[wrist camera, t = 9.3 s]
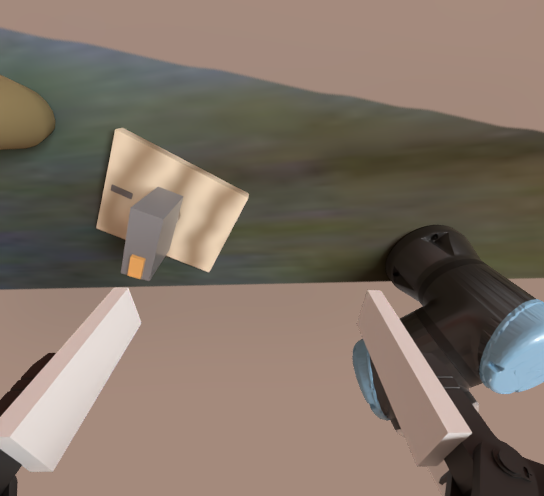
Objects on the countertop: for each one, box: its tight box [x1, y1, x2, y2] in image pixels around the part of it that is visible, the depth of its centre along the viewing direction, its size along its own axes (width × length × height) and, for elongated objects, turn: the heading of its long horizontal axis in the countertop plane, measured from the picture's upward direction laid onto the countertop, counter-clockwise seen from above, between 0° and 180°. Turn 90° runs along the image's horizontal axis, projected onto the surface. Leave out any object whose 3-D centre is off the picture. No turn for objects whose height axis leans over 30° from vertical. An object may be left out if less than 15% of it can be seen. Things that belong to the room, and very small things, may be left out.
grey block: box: [121, 187, 184, 281], centre depth 32 cm, size 10×4×8 cm, turn 155°
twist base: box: [96, 128, 249, 272], centre depth 37 cm, size 20×17×4 cm
